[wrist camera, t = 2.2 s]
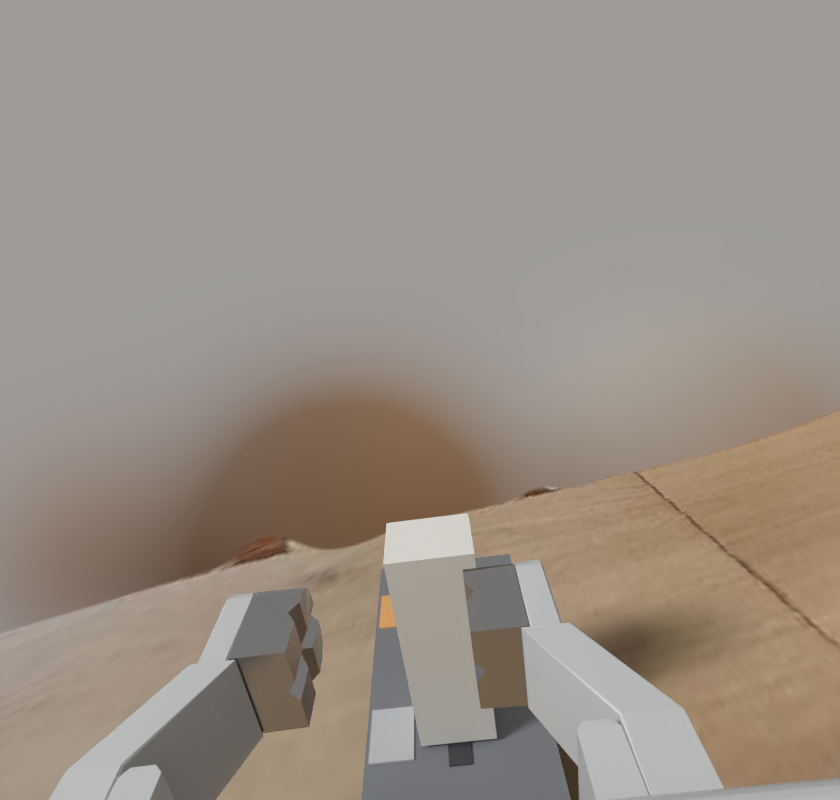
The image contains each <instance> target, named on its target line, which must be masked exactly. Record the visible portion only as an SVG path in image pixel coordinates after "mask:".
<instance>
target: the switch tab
mask: <svg viewBox="0 0 840 800" xmlns="http://www.w3.org/2000/svg"><path fill="white" fill-rule="evenodd" d="M383 565H384V570H385V575H386V580H387V585H388V590H389V594H390V599H391V604H392V609H393V614H394V618H395V623H396V628H397V633H398V638H399V643H400V647H401V652H402V657H403V662H404V667H405V671H406V676H407V681H408V686H409V691H410V696H411V700H412V705H413V710H414V715H415V720H416V725H417V729H418V734H419V739H420V744H421V746H429V745H439V744H449V743H458V742H468V741H478V740H488V739H497V734H496V726H495V717H494V709H493V708H487V709H481V707H480V700H479V694H478V687H477V680H476V672H475V665H474V658H473V650H472V642H471V635H470V627H469V619H468V611H467V603H466V595H465V587H464V578H463V570H464V569H472V568H476V564H475V555H474V549H473V542H472V536H471V530H470V524H469V517H468V513H466V514H458V515H450V516H442V517H434V518H426V519H417V520H410V521H401V522H393V523H387V525H386V537H385V549H384V562H383Z"/></svg>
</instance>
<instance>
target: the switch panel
mask: <svg viewBox="0 0 840 800" xmlns="http://www.w3.org/2000/svg"><path fill="white" fill-rule="evenodd" d="M475 564H476V568H480V567H488V566H496V565H504V564H512V563H511V559H510V555H509V554H507V555H499V556H490V557H482V558H475ZM493 709H494V717H495V726H496V734H497V739H488V740H478V741H468V742H458V743H449V744H439V745H429V746H421V744H420V739H419V734H418V729H417V725H416V720H415V715H414V710H413V705H412V700H411V696H410V691H409V686H408V681H407V676H406V671H405V667H404V662H403V657H402V652H401V647H400V643H399V638H398V633H397V628H396V623H395V618H394V614H393V609H392V604H391V599H390V594H389V590H388V585H387V580H386V575H385V570H384V569H381V581H380V593H379V605H378V616H377V628H376V640H375V652H374V663H373V675H372V687H371V699H370V710H369V722H368V734H367V745H366V757H365V769H364V781H363V792H362V800H571V798H570V794H569V790H568V786H567V782H566V778H565V774H564V770H563V766H562V762H561V758H560V754H559V750H558V746H557V742H556V740H555V739H554V737H553V736H552V735H551V734H550V733H549V732H548V730H547V729H546V728H545V727H544V726H543V724H542V723H541V722H540V721H539V720H538V719H537V717H536V716H535V715H534V714H533V713H532V711H531V710H530V709H529V708H528V705H527V706H513V707H500V708H493Z"/></svg>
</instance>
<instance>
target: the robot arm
mask: <svg viewBox="0 0 840 800" xmlns="http://www.w3.org/2000/svg"><path fill="white" fill-rule="evenodd" d="M463 578H464V587H465V595H466V603H467V611H468V619H469V627H470V635H471V642H472V650H473V658H474V665H475V672H476V680H477V687H478V694H479V700H480V707H481V709H487V708H500V707H513V706H527V705H528V708H529V709H530V710H531V711H532V713H533V714H534V715H535V716H536V717H537V719H538V720H539V721H540V722H541V723H542V724H543V726H544V727H545V728H546V729H547V730H548V732H549V733H550V734H551V735H552V736H553V737H554V739H555V740H556V741H557V742H558V743H559V745H560V746H561V747H562V748H563V749H564V751H565V752H566V753H567V754H568V755H569V756H570V758H571V759H572V760H573V761H574V762H575V764H576V765H577V766H578V781H579V800H840V777H838V778H828V779H817V780H807V781H796V782H786V783H775V784H765V785H754V786H744V787H733V788H724V787H723V785H722V783H721V781H720V779H719V777H718V776H717V774H716V772H715V770H714V768H713V766H712V764H711V762H710V760H709V758H708V756H707V754H706V752H705V750H704V748H703V746H702V744H701V742H700V740H699V738H698V736H697V734H696V732H695V730H694V728H693V726H692V724H691V722H690V720H689V718H688V716H687V714H686V712H685V710H684V709H683V708H682V707H681V706H679V705H678V704H677V703H675V702H674V701H673V700H671V699H670V698H669V697H667V696H666V695H665V694H663V693H662V692H661V691H660V690H658V689H657V688H656V687H654V686H653V685H652V684H650V683H649V682H648V681H646V680H645V679H644V678H642V677H641V676H640V675H638V674H637V673H636V672H635V671H633V670H632V669H631V668H629V667H628V666H627V665H625V664H624V663H623V662H621V661H620V660H619V659H617V658H616V657H615V656H613V655H612V654H611V653H610V652H608V651H607V650H606V649H604V648H603V647H602V646H600V645H599V644H598V643H596V642H595V641H594V640H592V639H591V638H590V637H589V636H587V635H586V634H585V633H583V632H582V631H581V630H579V629H578V628H577V627H575V626H574V625H573V624H571V623H562V622H561V619H560V616H559V613H558V610H557V607H556V604H555V601H554V598H553V595H552V592H551V589H550V586H549V583H548V580H547V577H546V574H545V571H544V568H543V565H542V562H541V561H540V560H539V559H537V560H530V561H523V562H516V563H513V564H504V565H496V566H488V567H480V568H472V569H464V570H463ZM313 604H314V603H313V600H312V597H311V594H310V591H309V590H308V589H307V588H299V589H288V590H277V591H267V592H257V593H250V594H239V595H232V596H231V597H230V598H228V599H227V601H226V602H225V605H224V607H223V609H222V611H221V613H220V616H219V618H218V620H217V622H216V624H215V627H214V629H213V631H212V633H211V635H210V638H209V640H208V642H207V644H206V646H205V649H204V651H203V653H202V655H201V657H200V660H199V662H198V664H191V665H189V666H188V667H187V668H185V669H184V670H183V671H182V672H181V673H180V674H179V675H177V676H176V677H175V678H174V679H173V680H172V681H170V682H169V683H168V684H167V685H166V686H165V687H163V688H162V689H161V690H160V691H159V692H158V693H156V694H155V695H154V696H153V697H152V698H151V699H149V700H148V701H147V702H146V703H145V704H144V705H142V706H141V707H140V708H139V709H138V710H137V711H135V712H134V713H133V714H132V715H131V716H130V717H128V718H127V719H126V720H125V721H124V722H123V723H121V724H120V725H119V726H118V727H117V728H116V729H114V730H113V731H112V732H111V733H110V734H109V735H107V736H106V737H105V738H104V739H103V740H102V741H100V742H99V743H98V744H97V745H96V746H95V747H93V748H92V749H91V750H90V751H89V752H88V753H87V754H85V755H84V756H83V757H82V758H81V759H80V760H78V761H77V762H76V763H75V764H74V765H73V766H71V767H70V768H69V769H68V770H67V771H66V772H65V773H64V775H63V777H62V779H61V780H60V782H59V784H58V785H57V787H56V789H55V790H54V792H53V794H52V795H51V797H50V799H49V800H216V798H217V797H218V796H219V794H220V793H221V792H222V790H223V789H224V788H225V786H226V785H227V784H228V782H229V781H230V780H231V778H232V777H233V776H234V774H235V773H236V772H237V770H238V769H239V768H240V766H241V765H242V764H243V762H244V761H245V760H246V758H247V757H248V756H249V754H250V753H251V752H252V750H253V749H254V748H255V746H256V745H257V744H258V742H259V741H260V740H261V738H262V737H263V734H262V733H267V732H275V731H282V730H289V729H297V728H304V727H309V725H310V720H311V715H312V710H313V705H314V700H315V695H316V693H315V689H314V686H313V682H312V680H313V679H314V678H315V677H316V676H317V675H318V674H319V673H320V668H321V663H322V646H323V642H322V634H321V629H320V625H319V621H318V620H317V619H315V618H314V617H313V616H312V615H311V612H312V608H313Z"/></svg>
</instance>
